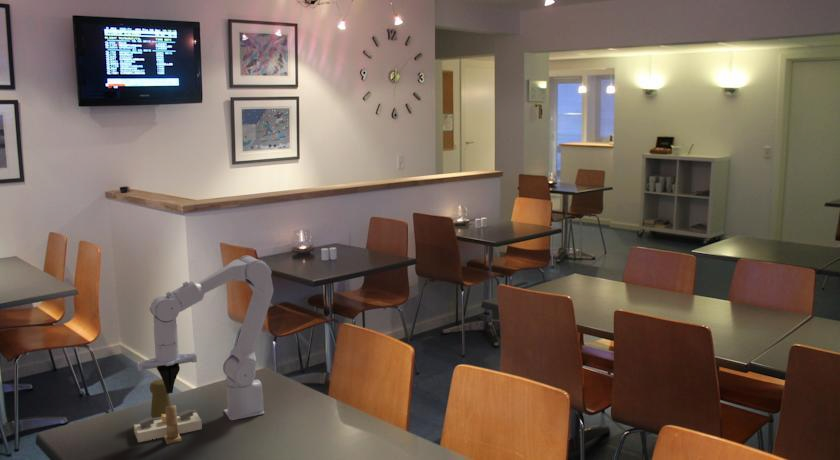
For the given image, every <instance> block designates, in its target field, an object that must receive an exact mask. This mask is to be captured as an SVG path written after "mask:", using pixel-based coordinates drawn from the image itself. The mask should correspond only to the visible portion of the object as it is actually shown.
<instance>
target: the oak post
mask: <svg viewBox="0 0 840 460" xmlns="http://www.w3.org/2000/svg"><path fill="white" fill-rule="evenodd" d="M165 409H166V424H167V436H164V437H163V438H164V440H165V441H164V442H165V443H166V445H171V444H175V443H179V442H182V437H181V435H180V434H179V433H178V427H177V413H178V412H177V405H176V404H171V405H168V406H166V407H165Z"/></svg>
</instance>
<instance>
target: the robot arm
mask: <svg viewBox="0 0 840 460" xmlns="http://www.w3.org/2000/svg"><path fill="white" fill-rule="evenodd" d="M231 281H239V282H246V283H247V284H248V287H249V288H250V289H251V291H252V295H251V297H250V300H249V305H248V306H247V307H248V308H247V311H246V314H245V317H244V320H243V322H242V327H241V330H240V334H239V337H238V340H237V343H236V346H234V348H232V350H231V351H230V353H229V355H228V357H227V358H226V360H225V361H224V362H223V364H222V371H223V373H224V374H225V376H226V377H227V379H226V383H225V384H226V397H227V398H226V399H227V400H226V401H227V408H225V409H223V412H224V413H225V415H226V416H227V417H228V419H229V420H230V421H237V420H240V419H246V418H250V417H255V416H259V415H260V416H261V415H264V414H265V409H264V392H263V386H262V382H261V381H260V379H255V378H256V375H257V371H256V365H257V357H256V350H257V345H258V343H259V340H260V336H261V333H262V330H263V327H264V324H265V321H266V318H267V313H268V311H269V309H270V304H271V300H272V298H273V294H274V292H275V291H274V285H273V280H272V269H271V268H270V267H269V265H268V264H267V263H266V261H264V260H261V259H257V258H255V257H253V256H252V255H249V254H248V255H243V256H241V257H240V258H238V259H234V260H232V261H231V262H230V263H228V264H227V265H225V266H224V267H222V268H220V269H218V270H217V271H215V272H213V273H211V274H210V275H209V276H207V277H205V278H204V279H202V280H201V281H198V282H196V281H189V282H188V281H185V282H183V283H182V285H181V286H180V287H178V288H176V289H174V290H172V291H168V292H166V293H165V294H166V295H159V296H156V297H155V298H153V300H152V301H151V303H150V306H149V312H150V313H151V314H152V316H153V337H154V353H155V355H154V357H153V358H150V359H145V360H141V361H137V370H138V372H143V371H145V370H149V369H156V370H157V372H158V373H159V375H160V377H161V379H162V380H163V382H164V385H165V389H166V392H167V394H169V395H170V394H173V393H174V387H175V386H174V385H175V382H176V379H177V376H178V374H179V372H180V370H181V368H180V365H182V364H187V363H193V364H194V363H197V361H198V360H197V358H198V357H197V354H196V353H195V352H193V353H183V354H182V353H181V354H179V340H178V338H179V337H178V324H177V317H178V316H179V313H181V312H183V311H185V310H187V309H188V308H190V307H192V306H193V305H197V304H198V303H199V302H201V301H203V299H204V296H205V295H206V293H208V292H211V291H212V290H215V289H217V288H218V287H220V286H222V285H224V284H226V283H228V282H231Z"/></svg>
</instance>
